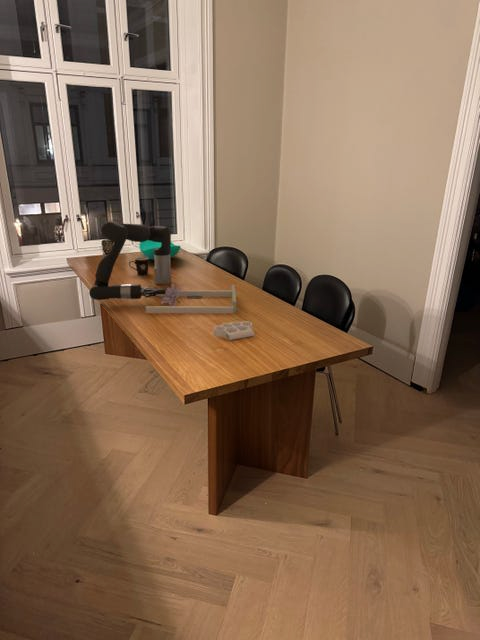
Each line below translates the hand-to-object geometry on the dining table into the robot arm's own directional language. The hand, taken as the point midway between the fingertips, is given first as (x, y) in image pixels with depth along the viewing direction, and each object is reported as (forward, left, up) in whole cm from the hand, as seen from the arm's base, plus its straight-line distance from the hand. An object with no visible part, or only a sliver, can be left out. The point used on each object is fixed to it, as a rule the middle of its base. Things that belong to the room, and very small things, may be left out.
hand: (165, 291), depth 220 cm
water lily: (+2, 0, -7) cm, 7 cm away
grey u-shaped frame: (+14, 0, -7) cm, 16 cm away
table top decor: (-15, +98, -7) cm, 99 cm away
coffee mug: (-23, +59, -7) cm, 64 cm away
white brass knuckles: (+34, -39, -7) cm, 52 cm away
